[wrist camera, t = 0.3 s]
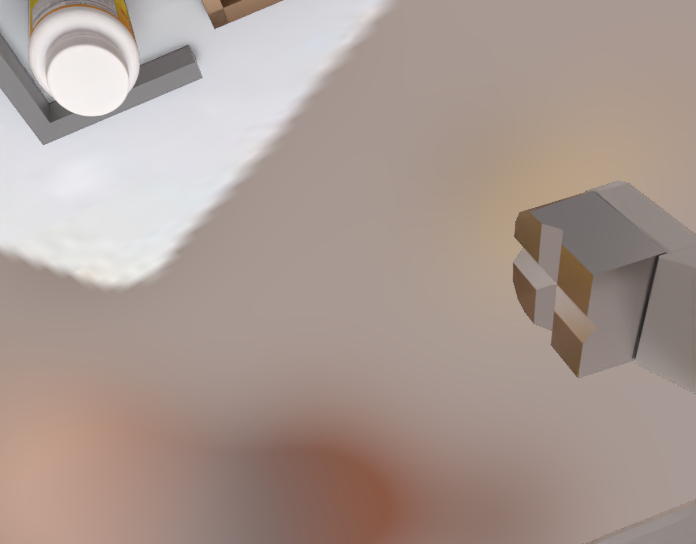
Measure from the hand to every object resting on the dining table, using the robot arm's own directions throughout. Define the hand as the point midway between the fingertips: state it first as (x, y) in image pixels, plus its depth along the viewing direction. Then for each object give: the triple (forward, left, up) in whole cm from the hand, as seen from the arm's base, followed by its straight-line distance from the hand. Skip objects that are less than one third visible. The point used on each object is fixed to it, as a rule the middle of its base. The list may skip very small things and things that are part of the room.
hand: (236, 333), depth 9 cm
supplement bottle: (+9, -5, -38) cm, 40 cm away
